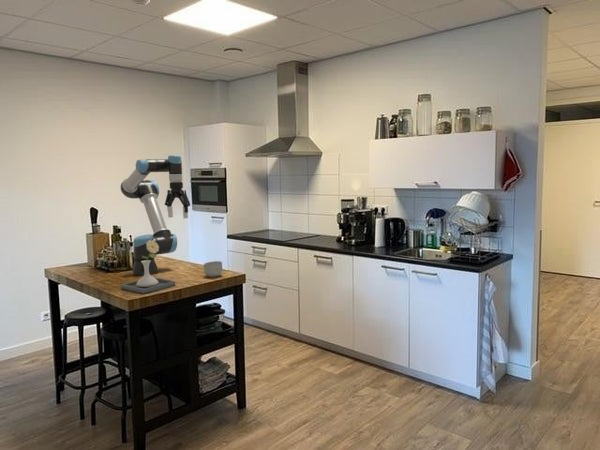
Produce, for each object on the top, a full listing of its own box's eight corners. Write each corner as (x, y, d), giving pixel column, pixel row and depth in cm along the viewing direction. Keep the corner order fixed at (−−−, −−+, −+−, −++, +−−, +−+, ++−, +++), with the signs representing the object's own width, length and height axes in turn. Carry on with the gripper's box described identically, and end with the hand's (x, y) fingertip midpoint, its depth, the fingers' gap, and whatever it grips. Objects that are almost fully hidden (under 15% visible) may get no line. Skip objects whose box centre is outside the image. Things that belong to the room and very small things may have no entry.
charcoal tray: (121, 289, 247) (120, 284, 247) (152, 281, 263) (152, 277, 263) (144, 294, 235) (143, 289, 235) (175, 285, 251) (175, 281, 251)
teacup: (218, 278, 267) (218, 264, 266) (201, 277, 269) (200, 264, 268) (227, 272, 280) (226, 260, 279) (210, 272, 282) (209, 259, 281)
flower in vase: (140, 290, 240) (137, 242, 237) (133, 286, 249) (130, 240, 246) (164, 285, 248) (162, 240, 245) (156, 282, 257) (154, 237, 254)
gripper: (195, 181, 266) (197, 218, 268) (167, 181, 281) (169, 216, 283) (185, 181, 260) (187, 219, 262) (157, 182, 274) (159, 217, 277)
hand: (178, 217), depth 273 cm, fingers open, 13 cm apart
